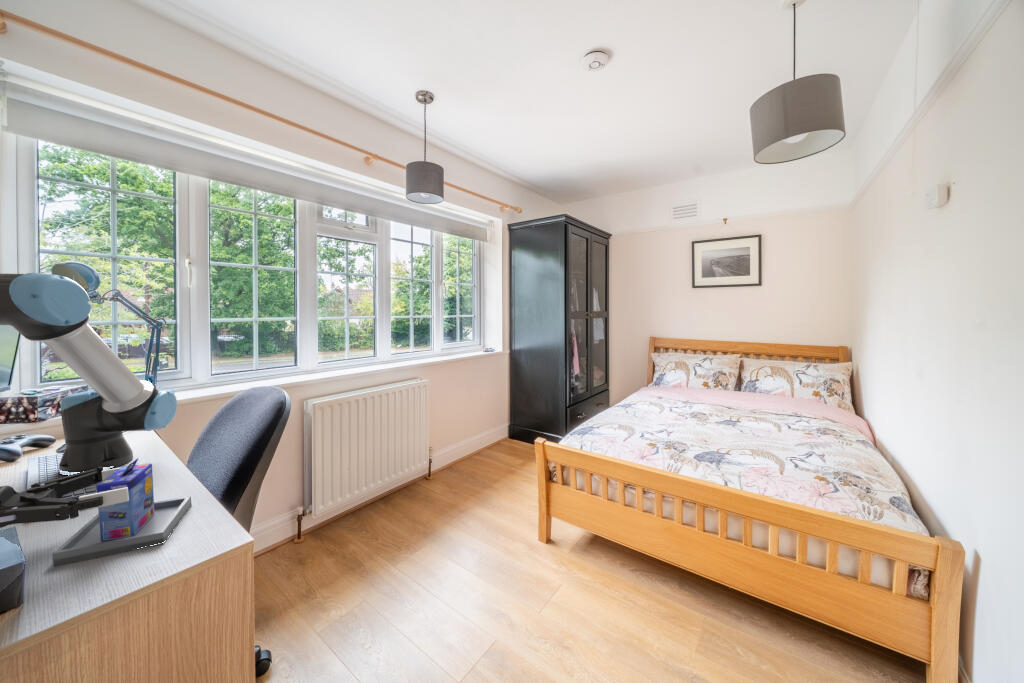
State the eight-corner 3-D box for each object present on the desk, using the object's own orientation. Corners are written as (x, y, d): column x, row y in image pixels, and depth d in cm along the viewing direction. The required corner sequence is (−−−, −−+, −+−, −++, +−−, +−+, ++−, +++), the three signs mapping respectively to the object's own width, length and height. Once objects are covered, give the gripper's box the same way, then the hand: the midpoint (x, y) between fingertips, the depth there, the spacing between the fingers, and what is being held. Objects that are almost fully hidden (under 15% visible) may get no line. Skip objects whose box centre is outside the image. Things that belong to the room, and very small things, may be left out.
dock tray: (102, 521, 85) (101, 511, 85) (191, 505, 92) (190, 496, 91) (53, 566, 70) (52, 553, 70) (164, 543, 77) (163, 532, 77)
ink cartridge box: (135, 537, 77) (128, 469, 76) (99, 544, 75) (91, 474, 74) (157, 512, 86) (151, 452, 85) (125, 518, 84) (119, 455, 83)
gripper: (12, 502, 79) (150, 475, 91) (-70, 570, 59) (122, 525, 71) (7, 467, 78) (147, 446, 91) (-77, 525, 58) (117, 487, 70)
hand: (136, 480), depth 81 cm, fingers open, 13 cm apart
